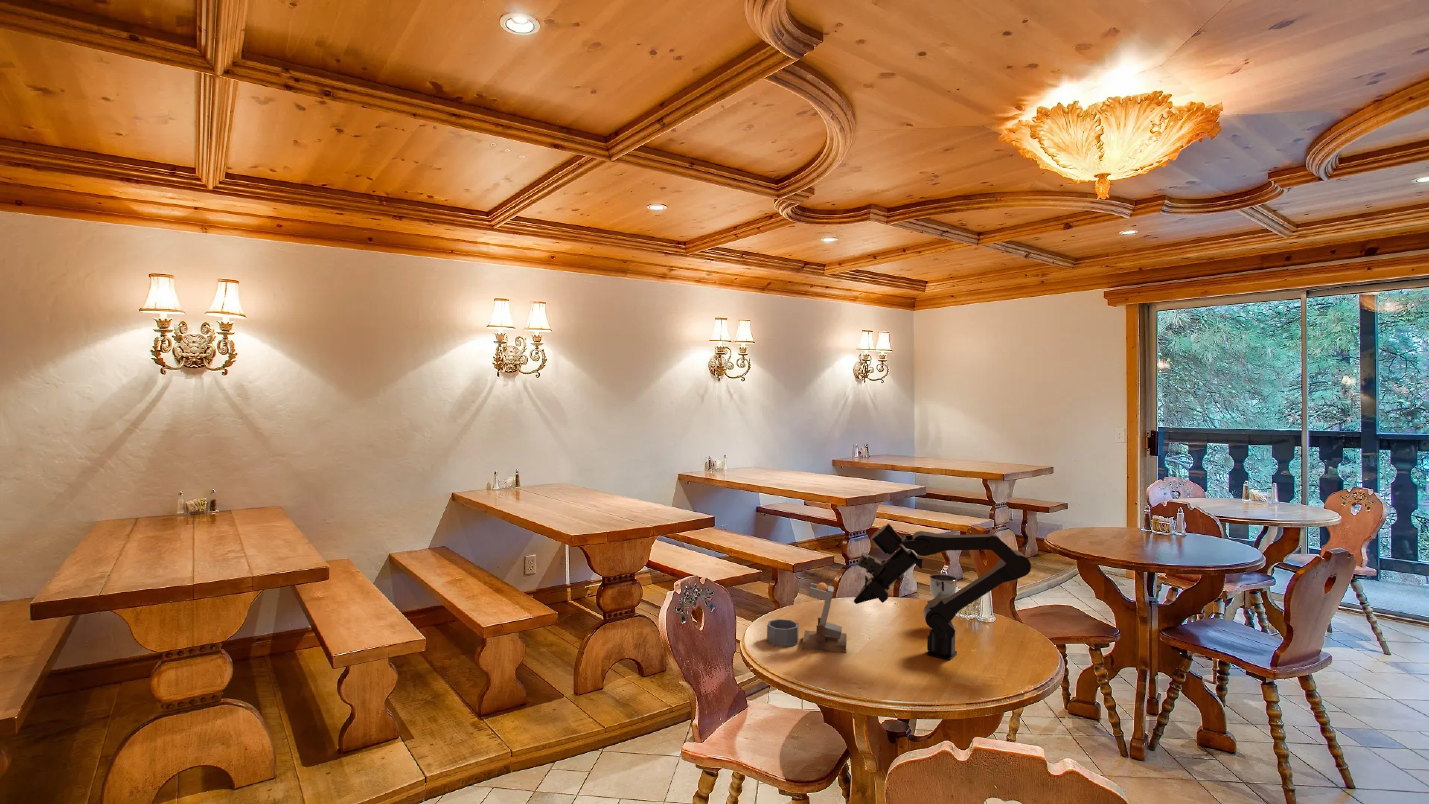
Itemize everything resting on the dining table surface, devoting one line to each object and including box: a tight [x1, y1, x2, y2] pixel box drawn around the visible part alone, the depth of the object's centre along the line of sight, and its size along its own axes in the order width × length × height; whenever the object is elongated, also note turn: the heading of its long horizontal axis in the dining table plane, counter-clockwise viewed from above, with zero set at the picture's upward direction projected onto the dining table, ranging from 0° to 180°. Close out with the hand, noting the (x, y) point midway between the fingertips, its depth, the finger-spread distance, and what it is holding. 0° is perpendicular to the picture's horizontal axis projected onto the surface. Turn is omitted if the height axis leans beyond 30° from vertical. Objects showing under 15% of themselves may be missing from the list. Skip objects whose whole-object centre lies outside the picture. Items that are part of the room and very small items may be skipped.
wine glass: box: [929, 573, 958, 627], centre depth 221 cm, size 8×8×15 cm
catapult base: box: [801, 617, 848, 654], centre depth 203 cm, size 12×10×6 cm
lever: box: [807, 582, 843, 639], centre depth 203 cm, size 11×6×13 cm, turn 79°
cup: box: [766, 618, 800, 648], centre depth 206 cm, size 9×9×5 cm
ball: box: [816, 582, 828, 592], centre depth 203 cm, size 3×3×3 cm
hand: (854, 602), depth 201 cm, fingers closed
